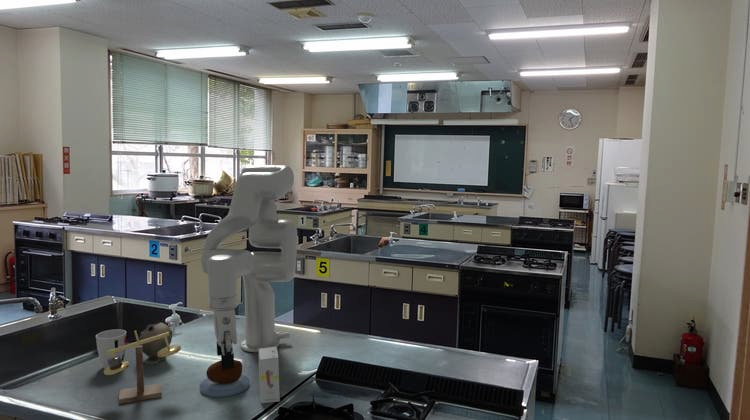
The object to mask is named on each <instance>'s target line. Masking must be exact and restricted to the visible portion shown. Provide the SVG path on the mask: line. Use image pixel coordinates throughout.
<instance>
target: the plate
mask: <svg viewBox="0 0 750 420" xmlns="http://www.w3.org/2000/svg"><path fill="white" fill-rule="evenodd" d="M249 387H250V379H249V377H247V375H244V374H243V373H242V374H241V377H240V378H239V379H238V380H237V381H235V382H232V383H226V384H222V383H215V382H212V381H210V380H209V379H208V377H206V378H205V379H204V380H202V381H201V382H200V384H199V392H200V393H201V394H202V395H204V396H206V397H209V398H227V397H232V396H236V395H239V394H241V393H244V391H247V389H248V388H249Z"/></svg>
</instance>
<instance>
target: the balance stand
mask: <svg viewBox="0 0 750 420" xmlns="http://www.w3.org/2000/svg"><path fill="white" fill-rule="evenodd" d="M134 349H135V365H136V366H135V368H136V370H135V371H136V386H135V387H128V388H122V389H119V395H118V396H119V398H118V399H119V400H118V403H119V405H121V404H127V403H133V401H134V402H137V401H138V402H140V401H145V400H150V399H156V398H163V397H162V396H163V395H162V383H154V384H149V385H145V378H144V376H145V375H144V355H143V354H144V353H143V350H142V345H141V346H135V348H134Z"/></svg>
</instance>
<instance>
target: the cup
mask: <svg viewBox="0 0 750 420" xmlns="http://www.w3.org/2000/svg"><path fill="white" fill-rule="evenodd" d="M95 339H96V349H97V353H98V358H99V362H100V364H101V365H102V368H103V370H105V369H106V368H107V367H109V364H108V361H107V360H108V359H110V358H112V355H111V354H109V355H108V354H107V351H109V350H112V349H115V348H118V347H121V346H125V345H127V331H126V330H124V329H121V328H120V329H118V328H117V329H107V330H104V331H101V332H99V333H97V334H96V335H95ZM125 355H126V349H125V350H122V351H119V352H116V353H114V356H120V358H121V361H122V362H123V361H124V360H125Z"/></svg>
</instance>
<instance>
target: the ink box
mask: <svg viewBox="0 0 750 420" xmlns="http://www.w3.org/2000/svg"><path fill="white" fill-rule="evenodd" d="M258 382H259V383H258V386H259V388H258V389H259V390H258V391H259V397H260V398H259V399H260V403H261V404H267V403H269V404H270V403H276V402H280V401H281V399H280V367H279V353H278V347H269V348H261V349H259V352H258Z"/></svg>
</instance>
